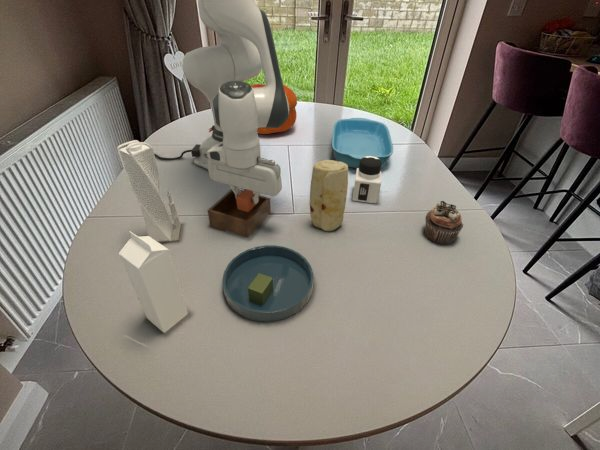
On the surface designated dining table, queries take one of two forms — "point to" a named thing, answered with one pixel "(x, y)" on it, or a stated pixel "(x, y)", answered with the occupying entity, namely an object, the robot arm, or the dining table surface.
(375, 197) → the container
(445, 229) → the cupcake
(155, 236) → the skyscraper
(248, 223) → the holder
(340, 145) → the casserole dish
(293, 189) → the dining table surface
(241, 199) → the orange block
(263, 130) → the pumpkin
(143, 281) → the milk
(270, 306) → the bowl
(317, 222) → the food model
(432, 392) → the dining table surface
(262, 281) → the green cube
